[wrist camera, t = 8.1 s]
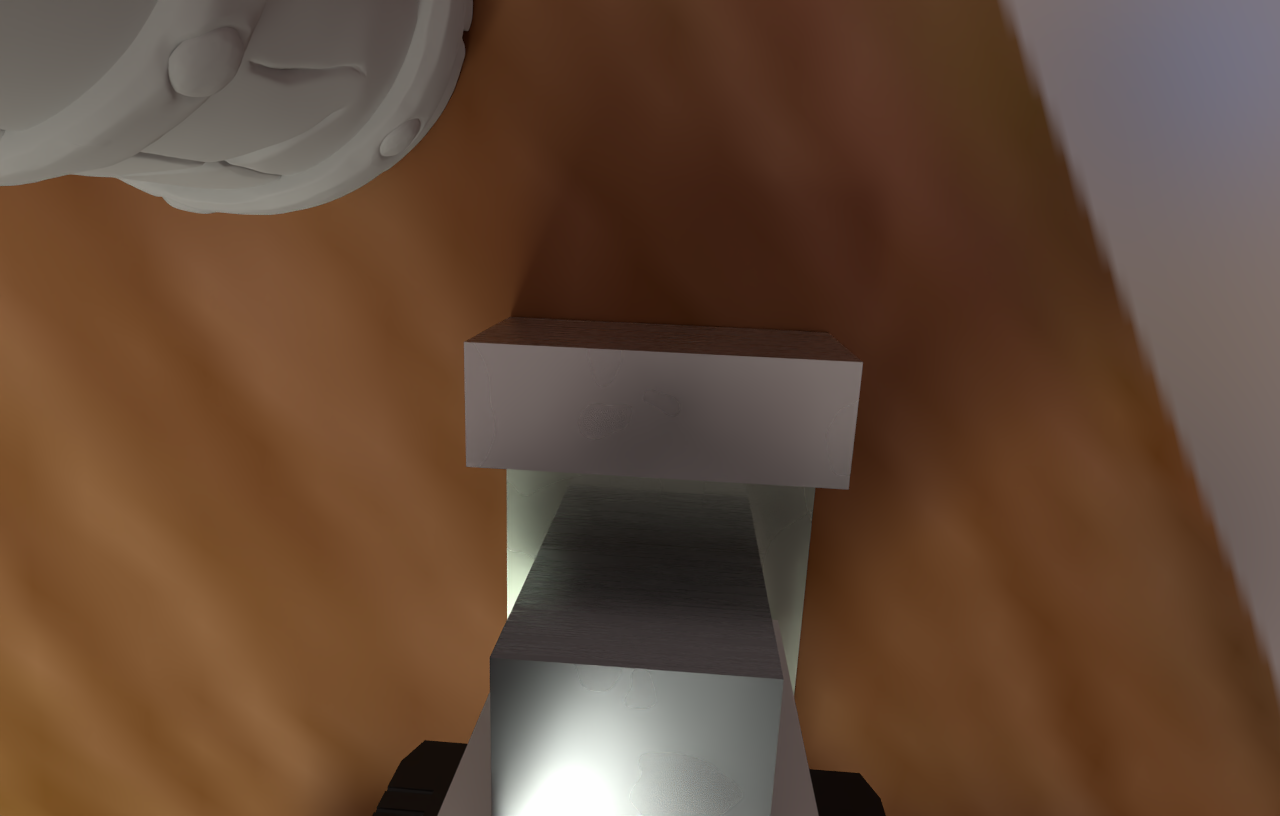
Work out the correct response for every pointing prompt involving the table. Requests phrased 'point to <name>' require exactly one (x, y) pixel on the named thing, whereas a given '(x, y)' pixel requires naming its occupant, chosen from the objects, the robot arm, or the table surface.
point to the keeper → (665, 428)
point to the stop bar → (638, 664)
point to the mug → (224, 94)
